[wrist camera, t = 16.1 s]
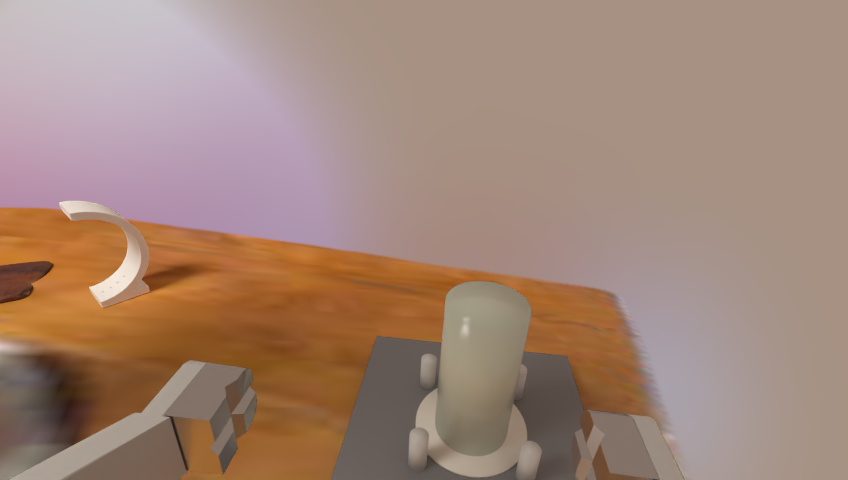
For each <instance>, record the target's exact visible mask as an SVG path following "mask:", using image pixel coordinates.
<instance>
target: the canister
mask: <svg viewBox="0 0 848 480" xmlns="http://www.w3.org/2000/svg"><path fill="white" fill-rule="evenodd" d="M531 313H532V309H531V306H530V304H529V302H528V300H527V299H526V298H525V297H524V296H523V295H522V294H520V293H519V292H518V291H516V290H514V289H512V288H510V287H508V286H505V285H502V284H499V283H494V282H488V281H472V282H466V283H462V284H459V285H457V286H455V287H454V288H452V289H451V290H450V291H449V292H448V294H447V296H446V300H445V311H444V323H443V334H442V345H441V357H440V368H439V379H438V391H437V402H436V413H435V427H436V431H437V433H438V435H439V437H440V438H441V440H442V441H443V442H444V443H445V444H446V445H447V446H448V447H450V448H451V449H453V450H454V451H456V452H458V453H461V454H464V455H468V456H485V455H488V454H491V453H493V452H495V451H496V450H498V449H499V448H500V447H501V446H502V445H503V443H504V442H505V439H506V436H507V432H508V427H509V422H510V417H511V412H512V407H513V402H514V397H515V392H516V387H517V382H518V377H519V372H520V368H521V363H522V358H523V353H524V348H525V343H526V338H527V333H528V328H529V323H530V318H531Z"/></svg>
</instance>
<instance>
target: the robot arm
mask: <svg viewBox="0 0 848 480" xmlns="http://www.w3.org/2000/svg"><path fill="white" fill-rule="evenodd" d="M252 381H253V375H252V370H251V369H248V368H242V367H235V366H228V365H222V364H215V363H207V362H200V361H193V360H190V361H188V362H186V363H184V364H183V365H182V366H181V367H180V368H179V370H178V371H177V372H176V373H175V374H174V375H173V376H172V378H171V379H170V380H169V381H168V382H167V383H166V385H165V386H164V387H163V388H162V389H161V390H160V392H159V393H158V394H157V395H156V396H155V397H154V398H153V400H152V401H151V402H150V403H149V404H148V405H147V407H146V408H145V409H144V410H143V411H142V412H141V413H133V414H131V415H129V416H127V417H125V418H123V419H122V420H120V421H118V422H116V423H114V424H112V425H110V426H108V427H107V428H105V429H103V430H101V431H99V432H97V433H95V434H93V435H91V436H90V437H88V438H86V439H84V440H82V441H80V442H78V443H76V444H75V445H73V446H71V447H69V448H67V449H65V450H63V451H61V452H59V453H58V454H56V455H54V456H52V457H50V458H48V459H46V460H44V461H43V462H41V463H39V464H37V465H35V466H33V467H31V468H29V469H28V470H26V471H24V472H22V473H20V474H18V475H16V476H14V477H12V478H11V479H9V480H179V479H181V478H182V477H183V476H184V475H186V474H187V471H191V472H201V473H210V474H220V475H223V474H224V472H225V470H226V469H227V467H228V465H229V463H230V461H231V460H232V458H233V456H234V454H235V452H236V451H237V449H238V448H237V443H236V439H237V438H239V437H240V436H242V435H243V434H245V433H246V432H247V431H248V429H249V427H250V425H251V423H252V421H253V418H254V414H255V411H256V403H257V398H256V393H255V391H254V390H253V389H252V388H251V387H250V385H251V383H252ZM580 424H581V428H582V429H580V430H579V431H577V432H575V434H574V437H573V441H572V450H571V457H572V465H573V469H574V474H575V476H576V477H577V478H578V479H579V480H685V479H684V477H683V475H682V473H681V471H680V469H679V467H678V465H677V463H676V461H675V459H674V457H673V455H672V453H671V451H670V449H669V447H668V445H667V443H666V441H665V439H664V437H663V435H662V433H661V431H660V429H659V427H658V425H657V423H656V421H655V420H654V419H653V418H652V417H647V416H639V415H630V414H629V415H627V414H623V413H614V412H605V411H596V410H587V409H585V410H584V411H583V412H582V414H581V417H580Z"/></svg>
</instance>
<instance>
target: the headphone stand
mask: <svg viewBox="0 0 848 480" xmlns="http://www.w3.org/2000/svg"><path fill="white" fill-rule="evenodd" d="M59 205H60V208H61V210H62V211H63V212H64V213H65V214H66V215H67V216H68V217H69V218H70V219H71V220H72V221H75V220H83V219H96V220H103V221H108V222H111V223H114V224H116V225H119V226H121V227H122V228H123V230H124V232H125V234H126V237H127V242H128V250H127V254H126V257H125V260H124V262H123V263H122V265H121V266H120V268H119V269H118V270H117V271H116V272H115V273H114V274H113V275H112V276H111V277H109V278H108V279H106V280H105V281H103V282H101V283H99V284H97V285H95V286H92V287H89V288H90V291H91V293H92V295H93V296H94V297H95V299H96V300H97V301H98V302H99V304H100V305H101V306H102V308H105V307H108V306H111V305H114V304H116V303H119V302H122V301H125V300H128V299H131V298H134V297H136V296H139V295H142V294H145V293H148V292H150V290H149V286H148V285H147V284H146V283H145V282H144V281H143V280H142V278H143V276H144V274H145V272H146V270H147V266H148V261H149V251H148V246H147V244H146V241H145V239H144V237H143V236H142V234H141V233H140V232H139V231H138V230H137V229H136V228H135V227H134V226H133V225H132V224H131V223H129V222H128V221H127V220H126V219H125V218H123V217H122V216H121V215H120V214H118V213H117V212H115V211H114V210H112V209H110V208H108V207H106V206H103V205H100V204H97V203H93V202H86V201H64V202H59Z"/></svg>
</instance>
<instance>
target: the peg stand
mask: <svg viewBox="0 0 848 480" xmlns="http://www.w3.org/2000/svg"><path fill="white" fill-rule="evenodd" d="M441 345H442V343H438V342H429V341H419V340H410V339H401V338H391V337H382V336H377V337H376V340H375V343H374V346H373V350H372V353H371V356H370V359H369V362H368V365H367V368H366V371H365V375H364V378H363V381H362V384H361V387H360V390H359V393H358V396H357V400H356V403H355V406H354V409H353V412H352V415H351V418H350V421H349V425H348V428H347V431H346V434H345V437H344V440H343V443H342V447H341V450H340V453H339V456H338V459H337V462H336V465H335V468H334V472H333V475H332V478H331V480H579V479H578V478H577V477H576V476H575V474H574V469H573V465H572V457H571V450H572V441H573V437H574V434H575V432H577V431H579V430H580V429H582V428H581V424H580V417H581V414H582V412H583V411H584V408H583V405H582V402H581V399H580V396H579V392H578V389H577V386H576V383H575V380H574V376H573V373H572V370H571V367H570V364H569V360H568V357H567V356H561V355H551V354H542V353H533V352H524V353H523V358H522V363H521V368H520V372H519V377H518V382H517V387H516V392H515V397H514V402H513V407H512V412H511V417H510V422H509V427H508V432H507V436H506V439H505V442H504V443H503V445H502V446H501V447H500V448H499V449H498V450H496V451H495V452H493V453H491V454H488V455H485V456H468V455H464V454H461V453H458V452H456V451H454V450H453V449H451V448H450V447H448V446H447V445H446V444H445V443H444V442H443V441H442V440H441V438H440V437H439V435H438V433H437V431H436V427H435V413H436V402H437V391H438V379H439V368H440V357H441Z"/></svg>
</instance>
